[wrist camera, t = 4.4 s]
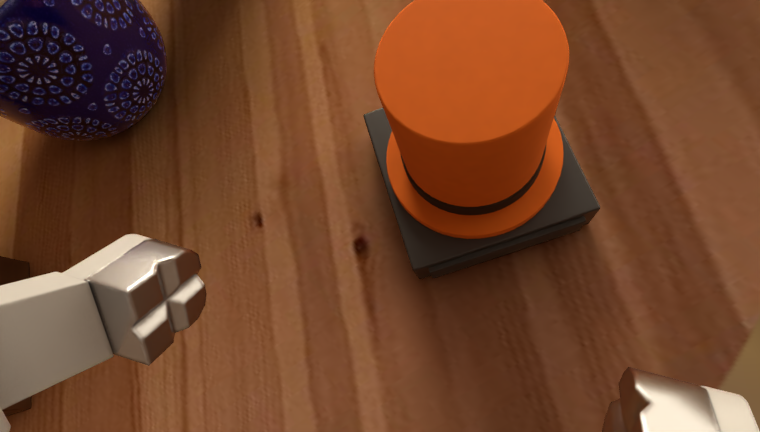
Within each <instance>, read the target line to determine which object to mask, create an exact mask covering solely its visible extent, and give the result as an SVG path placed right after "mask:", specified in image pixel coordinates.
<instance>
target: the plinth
mask: <svg viewBox="0 0 760 432" xmlns="http://www.w3.org/2000/svg"><path fill="white" fill-rule="evenodd" d="M28 278H29V263H28V262H24V261H19V260H15V259H10V258H6V257H1V256H0V286H1V285H5V284H8V283H12V282H16V281H20V280H24V279H28ZM30 408H31V396H30V397H28V398H26V399H24V400H22V401H20V402H18V403H16V404H14V405H11V406H9V407H7V408H5V409H3V410H2V411H3V413H4V414H5V416H9V415H12V414H15V413H18V412H21V411H24V410H27V409H30Z"/></svg>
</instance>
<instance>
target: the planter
mask: <svg viewBox="0 0 760 432" xmlns="http://www.w3.org/2000/svg"><path fill="white" fill-rule="evenodd" d="M166 69H167V59H166V51H165V46H164V42H163V39H162V36H161V33H160V30H159V28H158V27H157V25H156V23H155V21H154V20H153V18H152V16H151V15H150V13H149V12H148V11H147V10H146V8H145V7H144V6H143V4H142V3H141V2H140V1H139V0H0V116H1V117H3V118H6V119H8V120H10V121H12V122H15V123H17V124H19V125H22V126H24V127H26V128H29V129H31V130H34V131H36V132H39V133H41V134H44V135H47V136H51V137H55V138H58V139H63V140H75V141H87V140H97V139H103V138H107V137H110V136H113V135H116V134H119V133H121V132H123V131H125V130H127V129H129V128H130V127H132V126H133V125H135V124H136V123H137V122H138V121H140V120H141V119H142V118H143V117H144V116H145V115H146V114H147V113H148V112H149V110H150V109H151V108H152V107H153V105H154V104H155V102H156V101H157V99H158V97H159V95H160V93H161V91H162V89H163V86H164V82H165V78H166Z"/></svg>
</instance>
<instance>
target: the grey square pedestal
mask: <svg viewBox="0 0 760 432" xmlns="http://www.w3.org/2000/svg"><path fill="white" fill-rule="evenodd" d="M364 119H365V123H366V126H367V129H368V132H369V135H370V138H371V141H372V144H373V148H374V151H375V154H376V157H377V160H378V163H379V166H380V169H381V172H382V176H383V179H384V182H385V185H386V188H387V191H388V194H389V197H390V201H391V204H392V207H393V210H394V213H395V216H396V219H397V222H398V225H399V229H400V232H401V235H402V238H403V241H404V244H405V247H406V250H407V254H408V257H409V260H410V263H411V266H412V269H413V271H414V272H415V273H416V275H417V276H418V277H419V279H422V278H425V277H428V276H432V278H436V277H439V276H442V275H445V274H448V273H451V272H454V271H457V270H460V269H463V268H466V267H469V266H472V265H475V264H478V263H481V262H484V261H487V260H490V259H493V258H496V257H500V256H503V255H506V254H509V253H512V252H515V251H518V250H521V249H524V248H527V247H530V246H533V245H536V244H539V243H542V242H545V241H548V240H551V239H554V238H557V237H560V236H563V235H566V234H569V233H572V232H575V231H578V230H580V228H581V227H582V226H583V225H585V224H588V223H589V222H590V221H591V219H592V218H593V217H594V216H595V214H596V213H597V212H598V211H599V209H600V206H599V204H598V201H597V199H596V197H595V195H594V193H593V191H592V189H591V187H590V185H589V183H588V181H587V179H586V177H585V175H584V173H583V171H582V169H581V167H580V165H579V163H578V161H577V159H576V157H575V155H574V153H573V151H572V149H571V147H570V145H569V143H568V141H567V139H566V137H565V135H564V133H563V131H562V129H561V127H560V125H559V123H558V121H557V119H556V117H555V116H554V119H555V121H556V123H557V125H558V128H559V130H560V133H561V137H562V141H563V151H564V155H563V166H562V170H561V175H560V178H559V180H558V183H557V185H556V188H555V190H554V192H553V193H552V195H551V197H550V199H549V200H548V201H547V203H546V204H545V205H544V207H543V208H542V209H541V210H540V211H539V212H538V213H537V214H536V215H535V216H534V217H532V218H531V219H530V220H528V221H527V222H526V223H524V224H523V225H521V226H519V227H517V228H516V229H514V230H511V231H509V232H506V233H504V234H501V235H497V236H493V237H488V238H481V239H464V238H455V237H451V236H447V235H443V234H441V233H438V232H436V231H433V230H431V229H429V228H428V227H426V226H424V225H422V224H421V223H420V222H418V221H417V220H416V219H414V218H413V217H412V216H411V215H410V214H409V213H408V212H407V211H406V210H405V208H404V207H403V206H402V204H401V203H400V201H399V200H398V198H397V196H396V195H395V193H394V191H393V188H392V186H391V183H390V180H389V176H388V172H387V164H386V157H387V147H388V142H389V139H390V136H391V132H392V129H391V127H390V124H389V121H388V119H387V116H386V114H385V111H384V108H380V109H378V110H375V111H372V112H370V113H367V114H364Z"/></svg>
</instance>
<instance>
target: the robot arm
mask: <svg viewBox="0 0 760 432" xmlns="http://www.w3.org/2000/svg"><path fill="white" fill-rule="evenodd" d="M200 269H201V264H200V260H199V255H198V254H197V253H196V252H194V251H192V250H190V249H187V248H183V247H180V246H177V245H173V244H170V243H167V242H163V241H160V240H157V239H151V238H148V237H145V236H141V235H138V234H128V235H125V236H123V237H121V238H120V239H118V240H116V241H115V242H113V243H111V244H110V245H108V246H106V247H105V248H103V249H101V250H100V251H98V252H96V253H95V254H93V255H91V256H90V257H88V258H86V259H85V260H83V261H81V262H80V263H78V264H76V265H75V266H73V267H71V268H70V269H68V270H66V271H65V272H63V273H59V272H52V273H48V274H44V275H40V276H36V277H32V278H28V279H24V280H20V281H16V282H12V283H8V284H5V285H1V286H0V432H10V428H11V425H10V423H9V422H8V420H7V418H6V416H5V414H4V413H3V411H2V410H3V409H5V408H7V407H9V406H11V405H14V404H16V403H18V402H20V401H22V400H24V399H26V398H28V397H30V396H32V395H34V394H37V393H39V392H41V391H43V390H45V389H47V388H49V387H51V386H53V385H55V384H57V383H59V382H62V381H64V380H66V379H68V378H70V377H72V376H74V375H76V374H78V373H80V372H82V371H85V370H87V369H89V368H91V367H93V366H95V365H97V364H99V363H101V362H103V361H105V360H107V359H110V358H112V357H113V356H114V355H113V354H115V355H118V356H121V357H124V358H127V359H130V360H133V361H136V362H139V363H142V364H145V365H148V366H149V365H150V364H151V363H152V362H153V361H154V360H155V359H156V358H157V357H158V356H160V355H161V354H162V353H163V352H164V351H165V350H166V349H167V348H168V347H169V346H170V345H171V344H172V343H173V342H174V336H175V333H176V332H179V331H181V330H184V329H186V328H189V327H190V326H191V325H192V324H193V323H194V322H195V321H196V320H197V319H198V318H199V316H200V314H201V312H202V310H203V308H204V306H205V301H206V289H205V285H204V283H203V282H202V280H201V279H200V278H199V276H198V275H197V274H198V272H199V270H200ZM619 394H620V399H618V400H615V401H613V402H611V403H610V405H609V407H608V410H607V413H606V415H605V419H604V424H603V429H602V432H760V430H759V428H758V426H757V423H756V421H755V418H754V416H753V414H752V411H751V409H750V407H749V404H748V402H747V401H746V400H745V399H744V398H743V397H742V396H741V395H738V394H734V393H730V392H726V391H722V390H718V389H714V388H710V387H706V386H699V385H696V384H692V383H688V382H685V381H681V380H677V379H673V378H669V377H665V376H662V375H658V374H654V373H650V372H646V371H642V370H639V369H635V368H631V367H628V368H627V369H626V370H625V371H624V373H623V375H622V377H621V379H620V381H619Z"/></svg>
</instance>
